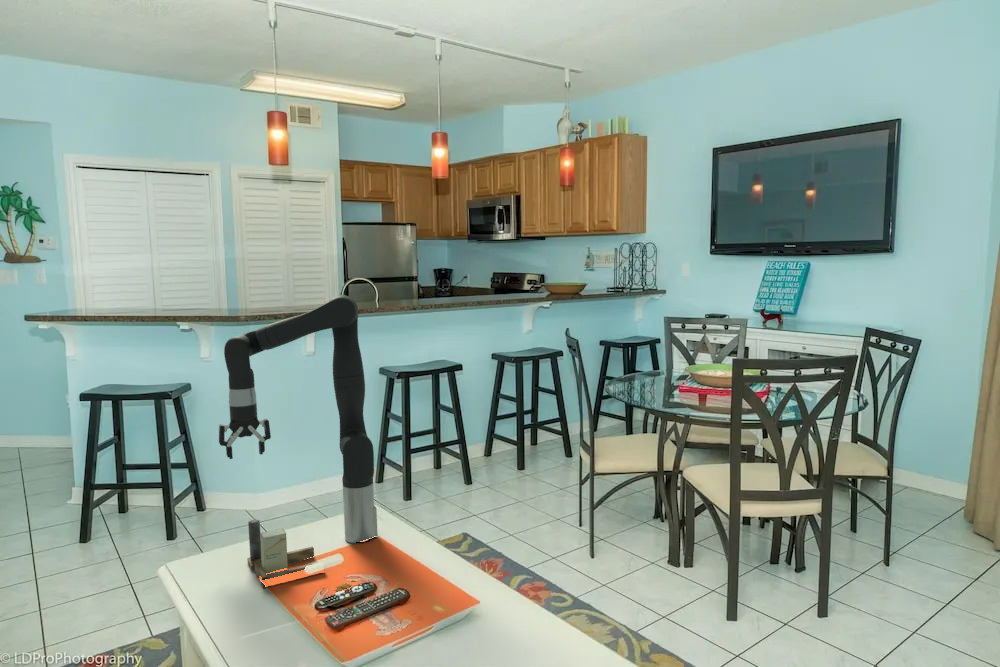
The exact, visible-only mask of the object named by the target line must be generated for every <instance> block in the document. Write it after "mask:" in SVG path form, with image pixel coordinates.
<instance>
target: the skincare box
mask: <svg viewBox="0 0 1000 667" xmlns="http://www.w3.org/2000/svg"><path fill="white" fill-rule="evenodd" d="M260 539H261V561H262V567H263V569H264V571H265V573H270V572H273V571H276V570H280V569H284V568H287V567H289V566H288V565H289V564H287V552H288V544H287V542H288V541H287V540H288V539H287V532H286V530H285V529H284V528H277V529H272V530H268V531H264V532H260Z"/></svg>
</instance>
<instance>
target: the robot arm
mask: <svg viewBox="0 0 1000 667" xmlns="http://www.w3.org/2000/svg"><path fill="white" fill-rule="evenodd" d="M358 320H359V306H358V304H357V302H356V301H355V300H354V299H353V298H352V297H351V296H348V295H345V294H341V295H340V294H339V295H337V296H334V297H332V298H330V300H328V302H325V303H324V304H322V305H320V306H318V307H317V308H315V309H313V310H310V311H308V312H305V313H303V314H300V315H299V314H298V315H295V316H292V317H287V318H284V319H281V320H278V321H275V322H271V323H270V324H266V325H263V326H262V327H260V328H258V329H256V330H252V331H248V332H245V333H242V334H239V335H236V336H233V337H230V338H229V339H228V340H227V341H226V342H225V345H224V350H223V352H224V362H225V364H226V370H227V371H228V372H227V373H228V388H229V391H228V406H229V407H228V408H229V420H230V421H229V423H228V424H222V423H219V424H218V444H219V446H220V447H225V451H226V452H225V453H226V456H227V458H229V460H232V459H233V447H232V445H233V443H234V442H235V441H236V440H237V439H238V438H245V437H252V436H253V435H254V436H255V437H256V438H257V440H258V453H259V455H261V456H262V455H263V454H264V453H265V451H266V446H265V442H266V441H267V440H270V439H271V436H272V435H271V434H272V433H271V428H270V427H271V426H270V421H269V420H268V418H264V419H261V420H259V419H258V407H257V406H258V403H257V392H256V388H255V384H256V383H255V374H254V370H253V369H252V368H251V360H250V357H251V356H254V355H256V354H259V353H261V352H264V351H269V350H272V349H273V350H274V349H275V348H278V347H281V346H283V345H286V344H288V343H292V342H293V341H296V340H298V339H301V338H303V337H305V336H308V335H310V334H315V333H317V332H320V331H324V330H329V329H331V331H332V336H333V337H332V338H333V354H332V379H333V380H332V381H333V388H334V394H335V401H336V406H337V411H338V415H339V416H338V418H339V450H340V452H341V455H342V466H343V468H342V470H343V472H342V474H343V475H342V478H341V479H342V480H341V481H342V497H343V498H342V500H343V501H342V502H343V517H344V518H343V519H344V522H343V523H344V539H345V541H346V542H348V543H350V544H357V543H356V542H360V541H363V540H366V539H369V538H372V537H374V536H378V512H377V510H378V509H377V507H376V506H375V495H374V494H375V492H374V474H375V458H374V457H375V456H374V455H375V453H374V452H375V451H374V444H373V442H372V440H371V439H370V438H369V436H368V434H367V430H366V425H365V419H364V418H365V417H364V406H365V405H364V404H365V398H366V397H365V396H366V380H365V372H364V365H363V358H362V352H361V348H360V343H359V336H358V335H359V334H358V332H359V330H358V326H359V325H358V322H359V321H358ZM260 425H261V426H262V427H263V429H264V435H262V434H260V433H259V432H258V431H257V429H258V427H259V426H260ZM228 429H230V431H231V434H230V436H229V437H228V439H227V440H225V433H227V431H228Z"/></svg>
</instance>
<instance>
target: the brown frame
mask: <svg viewBox="0 0 1000 667" xmlns="http://www.w3.org/2000/svg"><path fill="white" fill-rule="evenodd" d="M247 524H248V540H249V541H248V542H249V557H247V565H248V567H249V569H250V571H251V572H255V575H256V577H257V576H261V577H262V580H265V579H270V578H274V577H278V576H282V575H285V574H289V573H293V572H297V571H301V570H304V569H305V567H306V565H307V564H305V565H300V566H297V567H294V568H293V567H292V568H288V570H284V571H280V572H275V573H271V574H267V575H266V573H265V571H264V569H263V567H262V561H261V539H260V533H261V521H260V520H259V519H251V520H249V521H248V522H247ZM313 556H314V557H315V547H314V546H308V547H305V548H300V549H296V550H292V551H287V565H290V564H295V563H298V562H297V561H299V562H301V561H300V560H304V559H307V558H310V557H313ZM304 561H305V560H304ZM294 562H295V563H294ZM259 582H260V581H259ZM260 584H261V587H262V589H267V588H266V587H265V585H264V584H263V583H262V582H260Z"/></svg>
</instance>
